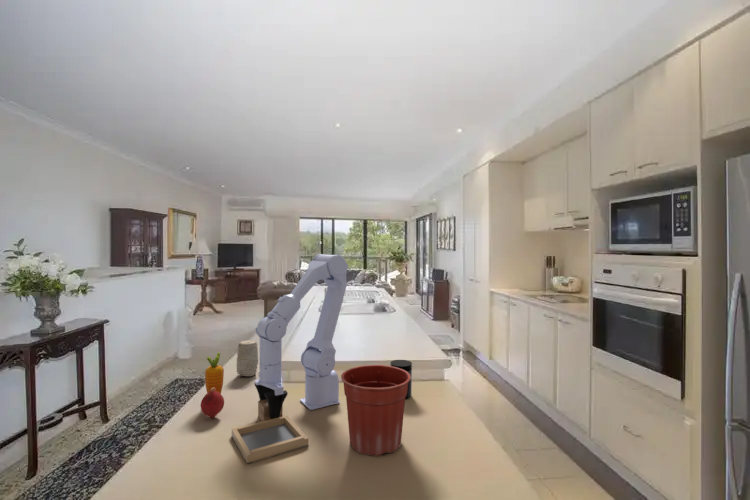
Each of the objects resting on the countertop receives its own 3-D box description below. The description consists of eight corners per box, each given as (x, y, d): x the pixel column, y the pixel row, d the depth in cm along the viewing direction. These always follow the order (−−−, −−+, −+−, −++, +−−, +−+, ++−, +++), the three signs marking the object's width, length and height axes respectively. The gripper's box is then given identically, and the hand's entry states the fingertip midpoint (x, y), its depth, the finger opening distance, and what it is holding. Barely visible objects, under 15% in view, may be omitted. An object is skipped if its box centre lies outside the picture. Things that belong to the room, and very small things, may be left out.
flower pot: (331, 433, 96) (332, 368, 95) (391, 421, 102) (391, 361, 102) (354, 469, 80) (355, 392, 80) (422, 452, 87) (423, 382, 87)
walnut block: (276, 413, 107) (276, 397, 107) (282, 420, 103) (282, 403, 102) (258, 417, 104) (258, 400, 104) (263, 424, 100) (263, 407, 100)
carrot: (205, 410, 108) (205, 357, 107) (204, 403, 112) (204, 352, 112) (224, 407, 110) (224, 354, 110) (222, 400, 114) (222, 350, 114)
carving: (261, 374, 138) (262, 341, 137) (242, 380, 132) (242, 345, 132) (252, 370, 142) (252, 338, 142) (233, 375, 136) (233, 342, 136)
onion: (215, 423, 100) (215, 393, 100) (195, 421, 101) (195, 391, 101) (228, 414, 106) (228, 385, 105) (209, 412, 107) (209, 383, 107)
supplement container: (413, 400, 116) (414, 366, 116) (391, 401, 115) (392, 366, 115) (409, 391, 123) (409, 359, 123) (388, 392, 122) (388, 359, 122)
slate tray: (286, 422, 101) (286, 413, 101) (308, 445, 89) (308, 436, 89) (231, 436, 93) (231, 427, 93) (247, 464, 82) (247, 453, 82)
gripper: (248, 358, 107) (247, 406, 107) (264, 372, 95) (263, 427, 95) (272, 354, 111) (272, 401, 111) (291, 368, 99) (290, 420, 99)
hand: (270, 413), depth 103 cm, fingers open, 7 cm apart
